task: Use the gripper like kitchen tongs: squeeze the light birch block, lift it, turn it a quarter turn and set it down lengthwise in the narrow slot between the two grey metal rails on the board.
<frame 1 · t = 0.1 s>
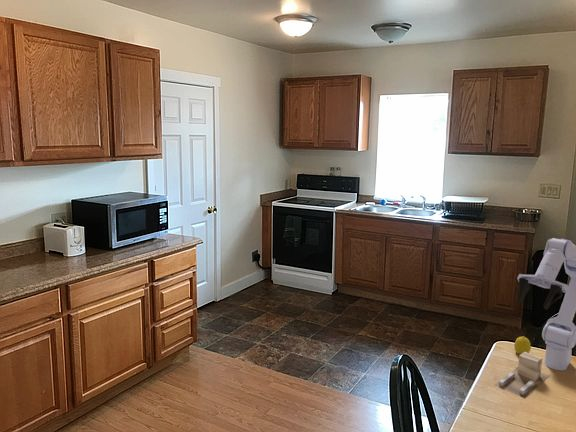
hand: (532, 304, 148), 32 cm above the table, tool tilted 50°, fingers open, 7 cm apart
block: (528, 375, 165), point 1 cm above the table, touching board
board: (522, 383, 162), on the table
lemon: (521, 356, 181), on the table
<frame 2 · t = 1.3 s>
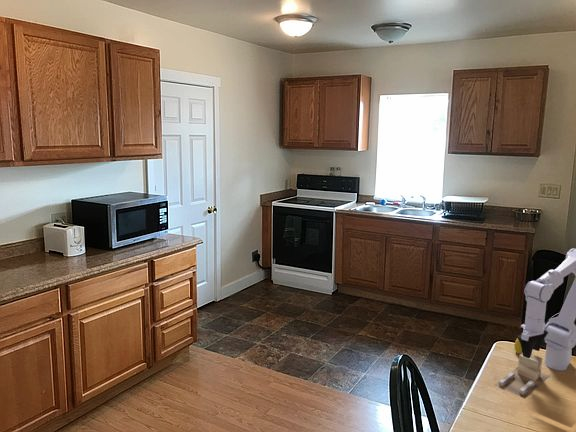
hand: (531, 353, 163), 9 cm above the table, tool pointing down, fingers open, 7 cm apart
nothing on the table moved.
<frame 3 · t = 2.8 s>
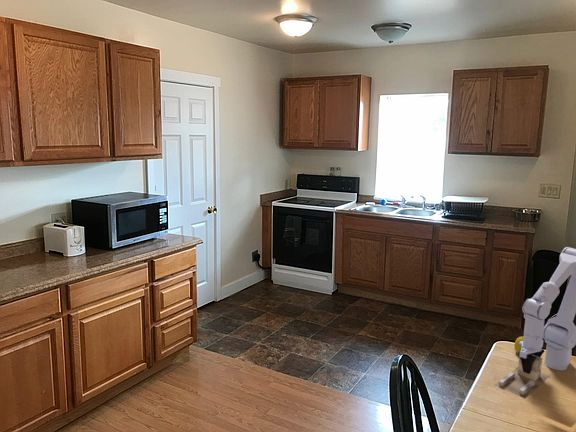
hand: (529, 370, 164), 3 cm above the table, tool pointing down, fingers closed on block, 4 cm apart
block: (528, 375, 165), point 1 cm above the table, touching board, gripper
everything else where it was.
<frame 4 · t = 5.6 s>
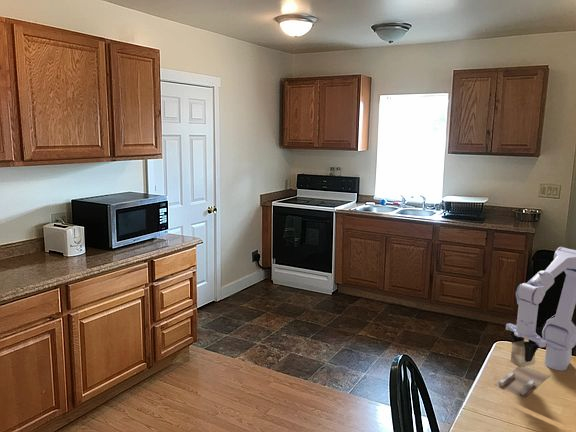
hand: (522, 357, 158), 10 cm above the table, tool pointing down, fingers closed on block, 4 cm apart
block: (522, 363, 159), point 8 cm above the table, touching gripper
everything else where it was.
when the fingers open (4 cm above the table, at t = 8.5 s): block stays where it is, resting on board.
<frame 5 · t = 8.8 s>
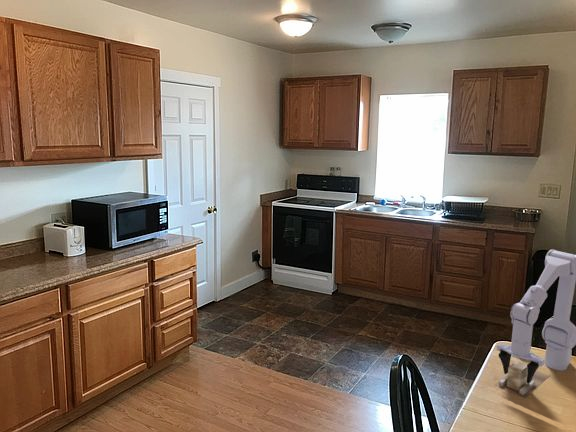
hand: (517, 377, 158), 4 cm above the table, tool pointing down, fingers open, 7 cm apart
block: (516, 385, 159), point 1 cm above the table, touching board
everything else where it was.
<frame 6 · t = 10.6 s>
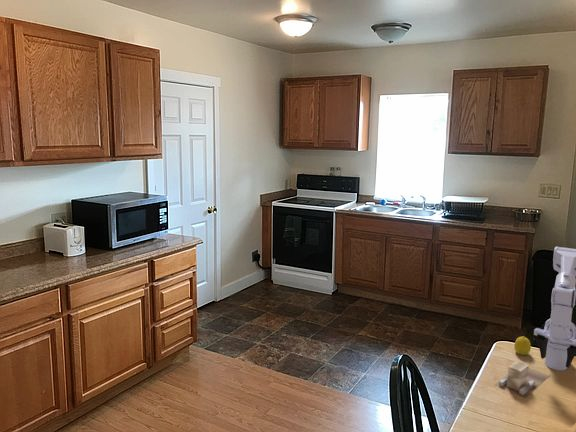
hand: (555, 361, 157), 10 cm above the table, tool pointing down, fingers open, 7 cm apart
nothing on the table moved.
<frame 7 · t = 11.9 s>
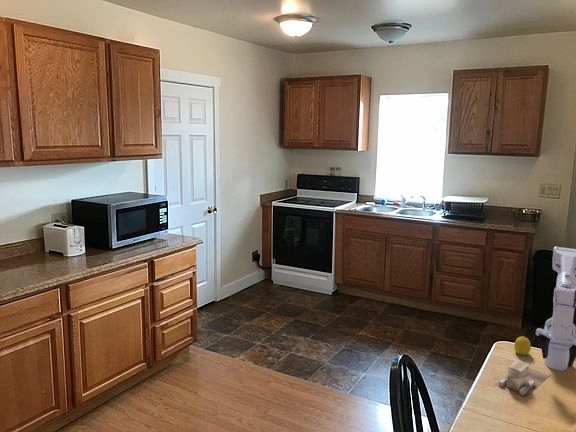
hand: (557, 361, 156), 10 cm above the table, tool pointing down, fingers open, 7 cm apart
nothing on the table moved.
at the end: block 0.0 cm from the target spot on the board, point 1.2 cm above the board's base; block tilted 0°; the gripper is holding nothing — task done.
